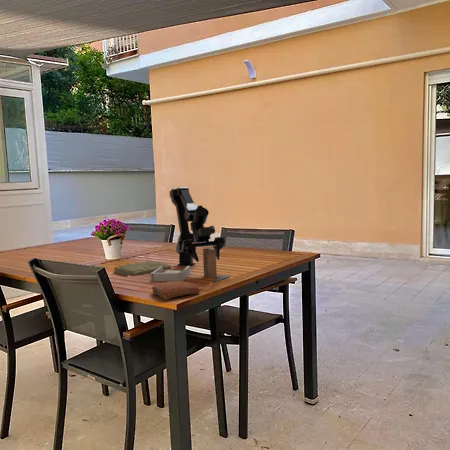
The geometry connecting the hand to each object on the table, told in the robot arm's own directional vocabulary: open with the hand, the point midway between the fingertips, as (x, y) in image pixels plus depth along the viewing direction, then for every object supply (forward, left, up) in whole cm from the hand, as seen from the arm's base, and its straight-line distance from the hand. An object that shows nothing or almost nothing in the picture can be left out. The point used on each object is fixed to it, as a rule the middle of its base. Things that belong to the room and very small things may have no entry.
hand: (208, 260), depth 186 cm
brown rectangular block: (+1, +1, -7) cm, 7 cm away
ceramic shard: (+27, +4, -8) cm, 29 cm away
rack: (+9, -13, -7) cm, 18 cm away
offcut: (+6, -15, -7) cm, 18 cm away
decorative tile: (+4, -37, -8) cm, 38 cm away
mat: (+1, +1, -7) cm, 8 cm away
